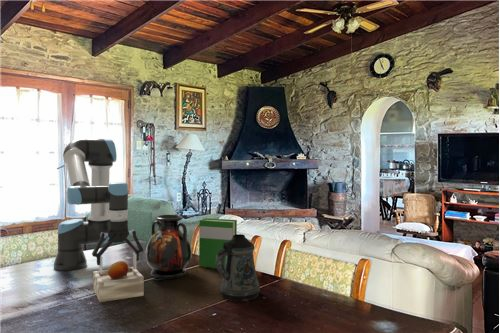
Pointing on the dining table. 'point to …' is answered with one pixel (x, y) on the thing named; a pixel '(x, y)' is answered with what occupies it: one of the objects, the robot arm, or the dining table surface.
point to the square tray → (118, 285)
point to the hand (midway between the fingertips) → (118, 270)
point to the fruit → (118, 270)
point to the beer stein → (238, 270)
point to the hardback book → (214, 239)
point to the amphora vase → (168, 248)
